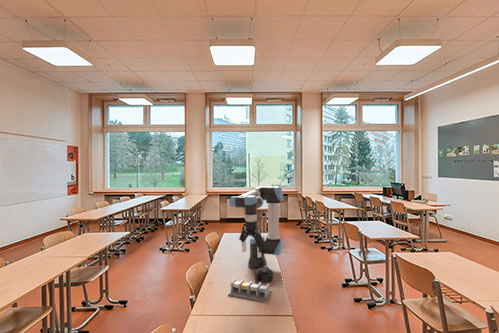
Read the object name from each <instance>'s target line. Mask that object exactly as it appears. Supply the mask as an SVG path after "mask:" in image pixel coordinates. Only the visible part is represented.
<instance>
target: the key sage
mask: <svg viewBox="0 0 499 333" xmlns="http://www.w3.org/2000/svg"><path fill="white" fill-rule="evenodd" d="M257 285H258V284H256V283H252V285H251V286H250V290H253V291H256V287H257Z"/></svg>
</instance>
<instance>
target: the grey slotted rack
mask: <svg viewBox="0 0 499 333" xmlns="http://www.w3.org/2000/svg"><path fill="white" fill-rule="evenodd" d="M235 281H237V278H236V277H234V279H233V280H232V281H230V291H229V293H228V295H227V296H230V297H235V298H239V299H240V298H241V299H245V300H250V301H256V302H261V303H265V302H266V301H267V299H268V297H269V296H270V294H271V293H272V289H270V283H267V285H265V286H266V287H265V293H264V292H259V288H260V286H261V285H262V281H259V282H258V284H257V287H256V291H253V290H250V286H251V285H252V284H253V281H252V280H251V281H249V282H248V283H249V284H248V285H247V289H242V286H241V285H242V284H243V283H244V282H245V279H242V280H241V281H239V282H240V283H239V284H238V285H239V288H236V287H233V283H234V282H235Z"/></svg>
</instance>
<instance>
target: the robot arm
mask: <svg viewBox="0 0 499 333" xmlns="http://www.w3.org/2000/svg"><path fill="white" fill-rule="evenodd" d="M283 200H284V192H283V189H282V187H281V186H280V185H279V186H278V185H260V186H257V187H254V188H251V189H250V190H249V191H247V192H245V193H242V194H240V195H238V196H237V195H236V196H235V195H234V196H231V197H230V199H229V205H230V207H231V208H239V209H244V220H245V221H244V226H242V229H241V232H240V236H239V238H238V240H239V241H241V246H242V247H241V248H242V250H241V252H242V253H246V252H247V241H246V240H247V238H249V236H250V237H251V238H250V239H249V259H248V262H247V264H248V265H247V266H248V268H250V269H254V270H256V269H259V268H262V269H263V267H264V266H267V267H268V263H267V259H266V257H265V255H272V256H280V255H281V254H282V252H283V248H284V241H283V240H282V238H281V236H280V231H279V230H280V211H279V210H280V205H281V203H282V201H283ZM264 201H265V202H266V205H267V218H268V219H267V236H266V237H265V236H263V235H262V234H261V229H257V227H258V221H257V220H258V209H259V208H261V207H262V206H263V205H264Z"/></svg>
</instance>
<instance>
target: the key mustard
mask: <svg viewBox="0 0 499 333" xmlns="http://www.w3.org/2000/svg"><path fill="white" fill-rule="evenodd" d="M249 283H250V282H245V281H244V283H243V284H242V285H241V286H242V289H247V285H248V284H249Z"/></svg>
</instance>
